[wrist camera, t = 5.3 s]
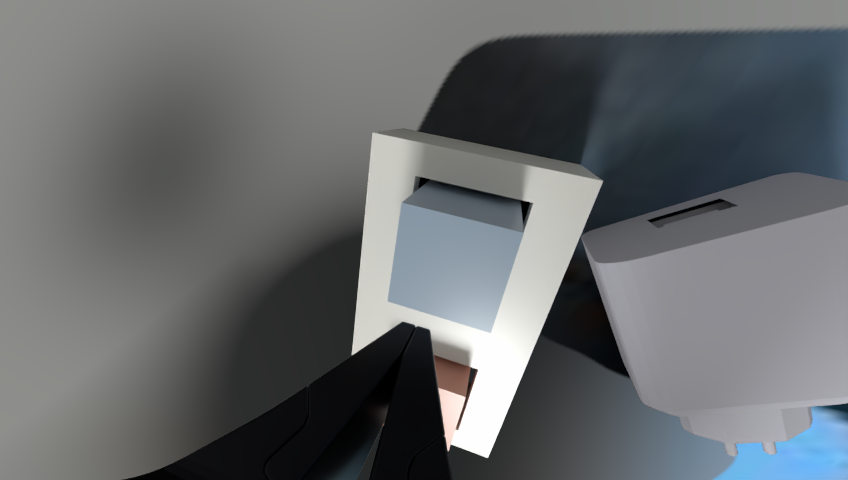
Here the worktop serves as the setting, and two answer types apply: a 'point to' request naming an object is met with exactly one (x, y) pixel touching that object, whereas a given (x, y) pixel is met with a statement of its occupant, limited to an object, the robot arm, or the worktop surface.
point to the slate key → (455, 253)
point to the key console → (530, 276)
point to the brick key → (451, 392)
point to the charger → (734, 306)
